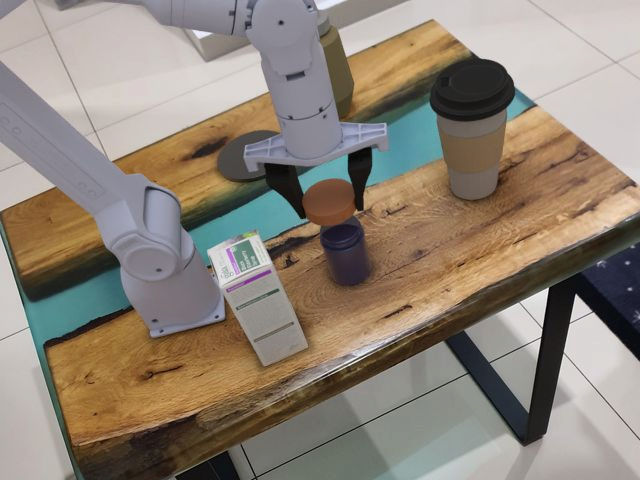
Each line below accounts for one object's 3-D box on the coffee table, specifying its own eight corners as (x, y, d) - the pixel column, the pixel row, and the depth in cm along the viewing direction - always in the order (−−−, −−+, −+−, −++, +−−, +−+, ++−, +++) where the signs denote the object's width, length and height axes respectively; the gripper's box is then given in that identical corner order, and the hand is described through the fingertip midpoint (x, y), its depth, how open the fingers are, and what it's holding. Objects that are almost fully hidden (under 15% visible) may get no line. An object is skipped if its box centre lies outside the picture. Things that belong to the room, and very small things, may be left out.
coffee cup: (425, 177, 86) (413, 75, 74) (489, 150, 86) (488, 44, 74) (458, 220, 80) (451, 117, 68) (527, 191, 81) (532, 83, 69)
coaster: (220, 190, 93) (218, 187, 92) (216, 144, 99) (215, 141, 99) (294, 170, 92) (293, 167, 92) (285, 125, 99) (284, 122, 98)
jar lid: (358, 185, 72) (356, 174, 71) (357, 223, 69) (355, 212, 68) (306, 191, 74) (303, 181, 72) (302, 229, 70) (299, 219, 69)
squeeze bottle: (298, 109, 101) (265, -9, 86) (344, 87, 101) (320, -32, 87) (319, 134, 96) (288, 15, 81) (367, 112, 97) (345, -11, 82)
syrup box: (310, 348, 73) (275, 261, 62) (262, 369, 73) (218, 286, 61) (294, 313, 77) (258, 225, 65) (248, 334, 76) (203, 248, 65)
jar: (334, 291, 78) (321, 249, 72) (326, 260, 81) (313, 218, 75) (376, 279, 77) (366, 236, 71) (367, 249, 80) (357, 206, 75)
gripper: (379, 63, 62) (396, 175, 73) (234, 89, 64) (271, 193, 75) (381, 108, 58) (398, 219, 69) (226, 133, 60) (267, 237, 71)
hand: (332, 209), depth 72 cm, fingers closed on jar lid, 6 cm apart
